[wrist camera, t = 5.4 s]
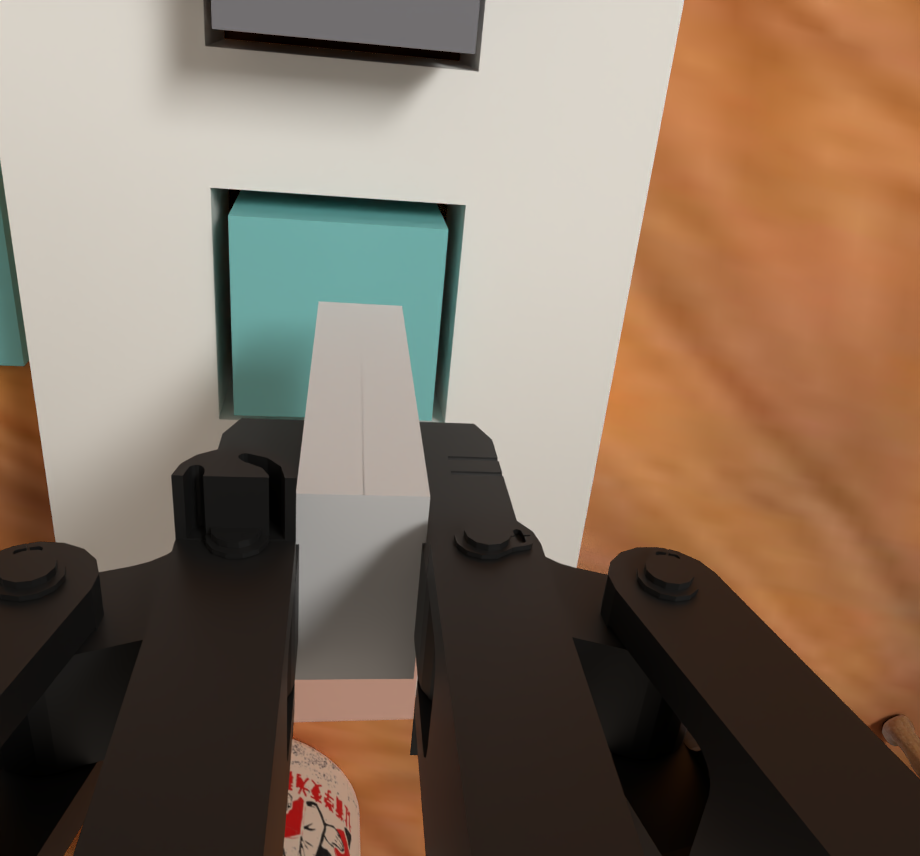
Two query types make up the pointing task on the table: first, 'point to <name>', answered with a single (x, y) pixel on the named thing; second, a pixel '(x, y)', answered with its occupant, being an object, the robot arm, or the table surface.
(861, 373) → the table surface
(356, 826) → the teacup with lid
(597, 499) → the table surface
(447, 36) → the charcoal button
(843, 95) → the table surface
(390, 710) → the terracotta button
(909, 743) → the lion figurine
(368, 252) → the teal button
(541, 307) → the button board
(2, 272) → the tile
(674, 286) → the table surface
